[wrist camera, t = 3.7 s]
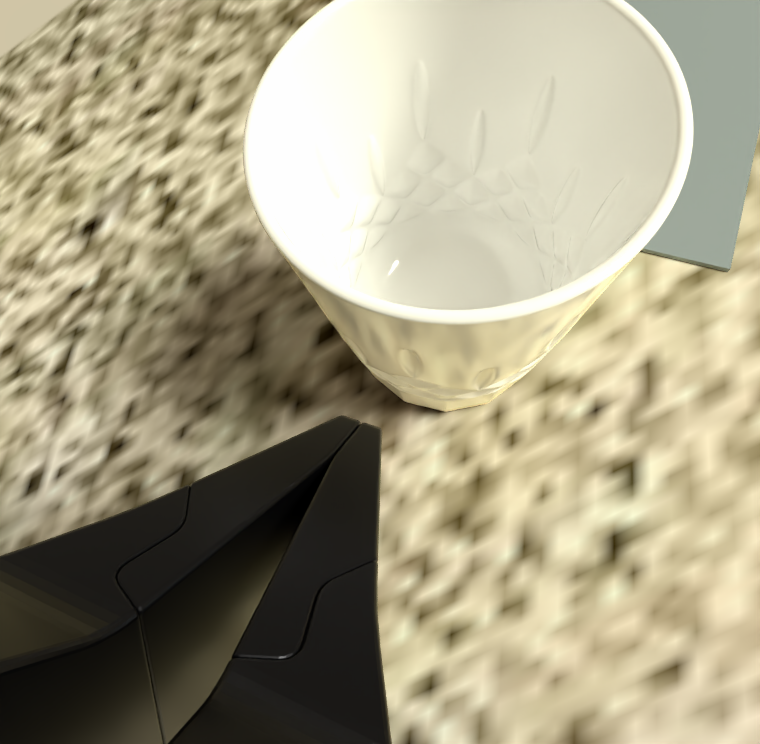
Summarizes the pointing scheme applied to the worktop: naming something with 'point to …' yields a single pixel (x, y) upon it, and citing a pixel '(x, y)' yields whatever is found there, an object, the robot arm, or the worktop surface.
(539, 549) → the worktop surface
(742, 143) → the mat
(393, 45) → the white cup
